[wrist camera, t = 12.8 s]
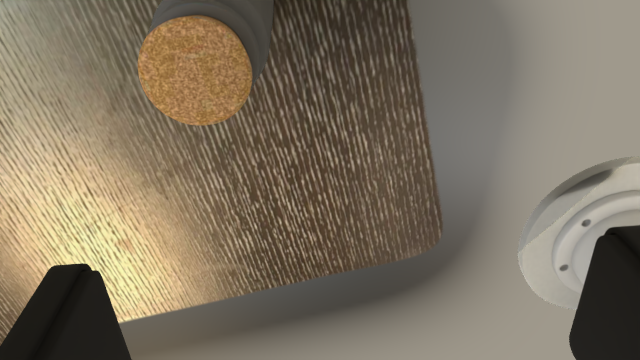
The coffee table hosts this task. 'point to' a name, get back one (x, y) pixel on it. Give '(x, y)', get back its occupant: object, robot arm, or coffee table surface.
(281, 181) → the coffee table surface
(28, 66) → the coffee table surface
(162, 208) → the coffee table surface
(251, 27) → the bottle
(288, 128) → the coffee table surface
